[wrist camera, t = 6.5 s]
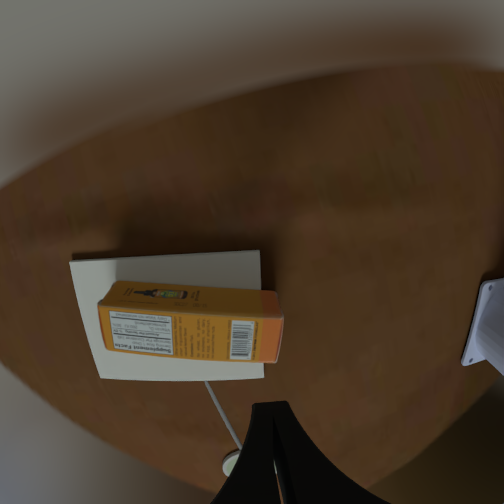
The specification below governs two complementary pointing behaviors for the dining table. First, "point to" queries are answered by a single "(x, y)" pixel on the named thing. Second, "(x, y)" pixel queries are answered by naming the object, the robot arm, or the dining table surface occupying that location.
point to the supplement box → (191, 322)
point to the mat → (164, 272)
